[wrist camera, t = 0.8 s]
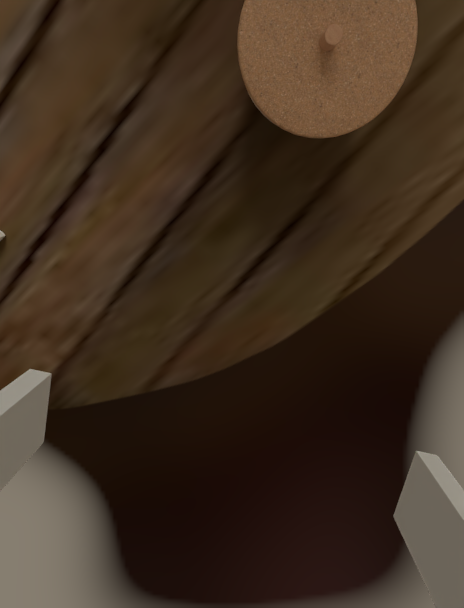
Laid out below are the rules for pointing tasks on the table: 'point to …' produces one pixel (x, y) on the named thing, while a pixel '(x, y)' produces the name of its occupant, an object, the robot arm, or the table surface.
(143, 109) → the table surface
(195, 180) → the table surface
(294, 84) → the lidded jar
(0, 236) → the placemat
